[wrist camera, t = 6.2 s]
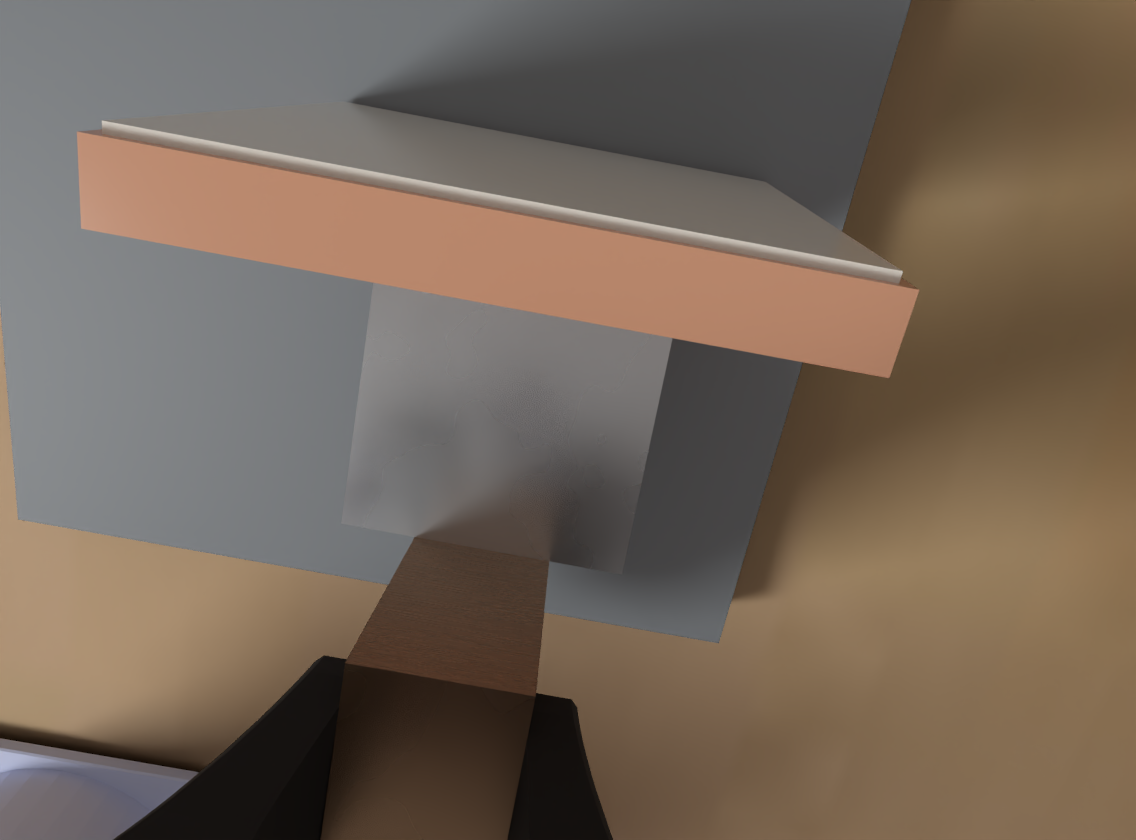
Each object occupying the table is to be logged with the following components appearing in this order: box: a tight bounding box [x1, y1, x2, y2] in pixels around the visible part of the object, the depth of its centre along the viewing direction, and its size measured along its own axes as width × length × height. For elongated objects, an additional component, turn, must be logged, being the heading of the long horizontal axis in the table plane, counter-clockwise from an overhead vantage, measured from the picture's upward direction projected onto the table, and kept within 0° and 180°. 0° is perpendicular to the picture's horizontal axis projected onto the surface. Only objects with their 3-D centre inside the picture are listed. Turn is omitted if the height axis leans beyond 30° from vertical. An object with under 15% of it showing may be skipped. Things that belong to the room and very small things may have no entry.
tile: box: [77, 102, 919, 378], centre depth 12 cm, size 1×8×8 cm, turn 80°
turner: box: [321, 283, 672, 840], centre depth 13 cm, size 9×5×5 cm, turn 170°
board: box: [0, 0, 911, 643], centre depth 16 cm, size 20×16×2 cm
